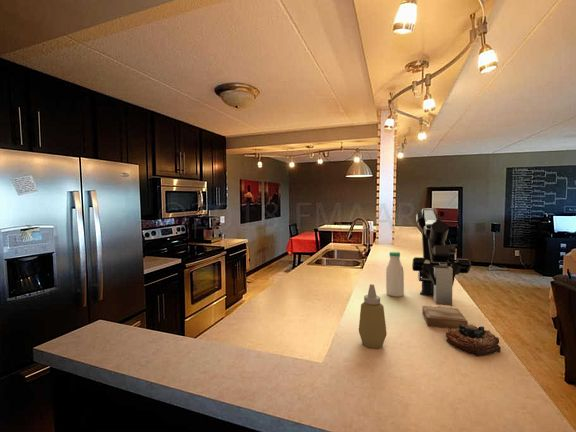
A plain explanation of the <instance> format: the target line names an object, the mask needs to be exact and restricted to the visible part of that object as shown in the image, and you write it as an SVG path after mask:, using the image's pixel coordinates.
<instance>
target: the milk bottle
mask: <svg viewBox="0 0 576 432" xmlns="http://www.w3.org/2000/svg"><path fill="white" fill-rule="evenodd" d="M400 257H401V253H400V252H399V251H389V260H388V261H389V262H388V264H387V266H386V269H385V270H386V272H385V274H386V275H385V276H386V277H385V287H386V290H385V291H386V295H388V296H390V297H395V298H396V297H397V298H398V297H403V296H404V295H405V284H404V283H405V274H404V273H405V271H404V267H403V265H402V262H401V259H400Z"/></svg>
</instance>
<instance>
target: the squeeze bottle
mask: <svg viewBox="0 0 576 432" xmlns="http://www.w3.org/2000/svg"><path fill="white" fill-rule="evenodd" d="M363 296H364V297H363V302H362V303H361V304H360V313H359V324H358V333H359V336H360V340H361V342H362V345H364V346H366V347H367V348H370V349H379V348H382V347H383V345H384V343H385V341H386V336H387V327H386V316H385V315H386V314H385V307H384V305H383V304H382V303H381V296H379V295H377V292H376V288H375V284H369V286H368V292H367V294H365V295H363Z"/></svg>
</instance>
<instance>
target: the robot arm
mask: <svg viewBox="0 0 576 432" xmlns="http://www.w3.org/2000/svg"><path fill="white" fill-rule="evenodd" d="M415 217H416V219H415V220H416V222H415V223H417V227H418V229H419V230H420V232H421V241H422V244H421V245H422V257H418V256H415V257H413V258H412V264H411V266H412V271H413V272H418V273H417V279H418V282H421V290H420V293H419V294H420V295H422V296H423V295H424V296H431V297H434V285H436V281H435V277H434V265H439V263H447V266H450V267H451V268H452V269H453V282H452V288H454V287H453V286H454V283H455V279H456V275H460V274H468V273H469V272H470V269H471V267H472V262H471V260H470V259H468V258H457V259H456V262H453V261H452V262H450V259H451V257H450V255H456V251H457V249H456V244H453V243H452V244H449V245H448V244H446V243H445V241H446V240H447V237H448V233H449V229H450V227H449V225H448V224H447V223H446V222H444V221H442V219H437V213H436V211H435V209H434V208H429V207H427V208H422V209H421V210H420V211H418V212H417V213H416V215H415Z"/></svg>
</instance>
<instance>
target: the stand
mask: <svg viewBox="0 0 576 432" xmlns="http://www.w3.org/2000/svg"><path fill="white" fill-rule="evenodd" d="M421 307H422V310H421V311H422V315H423V318H424V321H425V323H426V326H427V327H432V328H443V329H449V330H450V329H453V328H455V329H457V328H459V325H463V326H467V325H469V323H468V322H469V321H468V320H467V319H466V317H465V316H464V315H463V313H462V312H461V310H459V308H452V307H442V306H441V307H440V306H431V305H429V306H428V305H422V306H421Z"/></svg>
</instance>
